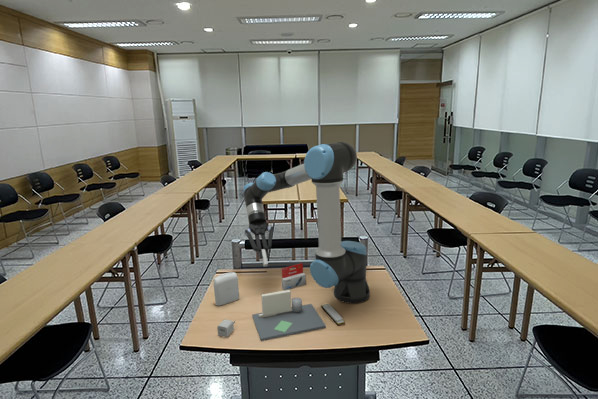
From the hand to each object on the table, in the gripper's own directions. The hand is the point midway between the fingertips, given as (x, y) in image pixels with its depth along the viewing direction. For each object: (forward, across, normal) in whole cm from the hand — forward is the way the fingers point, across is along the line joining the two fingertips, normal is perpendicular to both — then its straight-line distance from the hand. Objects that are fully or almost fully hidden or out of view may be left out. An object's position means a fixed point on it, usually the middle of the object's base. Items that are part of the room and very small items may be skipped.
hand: (265, 265), depth 155 cm
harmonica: (+26, -21, +5) cm, 34 cm away
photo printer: (+9, +16, -11) cm, 22 cm away
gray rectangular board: (+25, -3, +5) cm, 26 cm away
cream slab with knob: (+21, -2, +3) cm, 21 cm away
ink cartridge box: (+7, -13, -14) cm, 20 cm away
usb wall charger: (+24, +19, +4) cm, 31 cm away
